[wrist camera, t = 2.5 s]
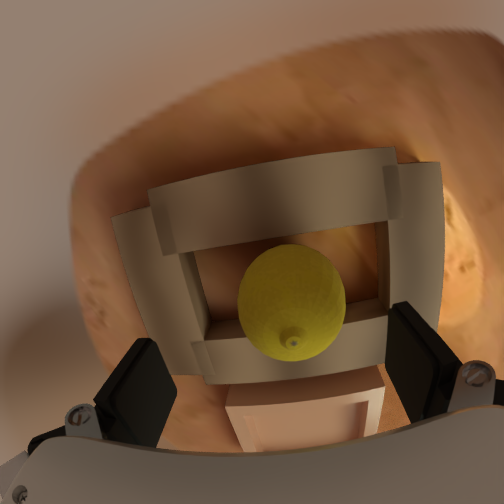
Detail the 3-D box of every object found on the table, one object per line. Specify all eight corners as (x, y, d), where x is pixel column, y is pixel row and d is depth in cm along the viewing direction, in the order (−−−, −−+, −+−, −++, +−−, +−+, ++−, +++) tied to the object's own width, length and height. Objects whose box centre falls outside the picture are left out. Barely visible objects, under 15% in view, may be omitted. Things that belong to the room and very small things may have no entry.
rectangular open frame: (418, 146, 15) (437, 144, 12) (421, 332, 18) (433, 349, 16) (126, 197, 18) (106, 202, 15) (179, 364, 21) (170, 384, 19)
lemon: (336, 234, 17) (377, 284, 9) (324, 312, 19) (344, 393, 11) (249, 226, 17) (225, 272, 10) (244, 305, 19) (223, 386, 11)
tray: (375, 362, 19) (385, 386, 17) (365, 439, 23) (369, 460, 20) (230, 381, 21) (224, 406, 18) (256, 452, 24) (253, 473, 22)
